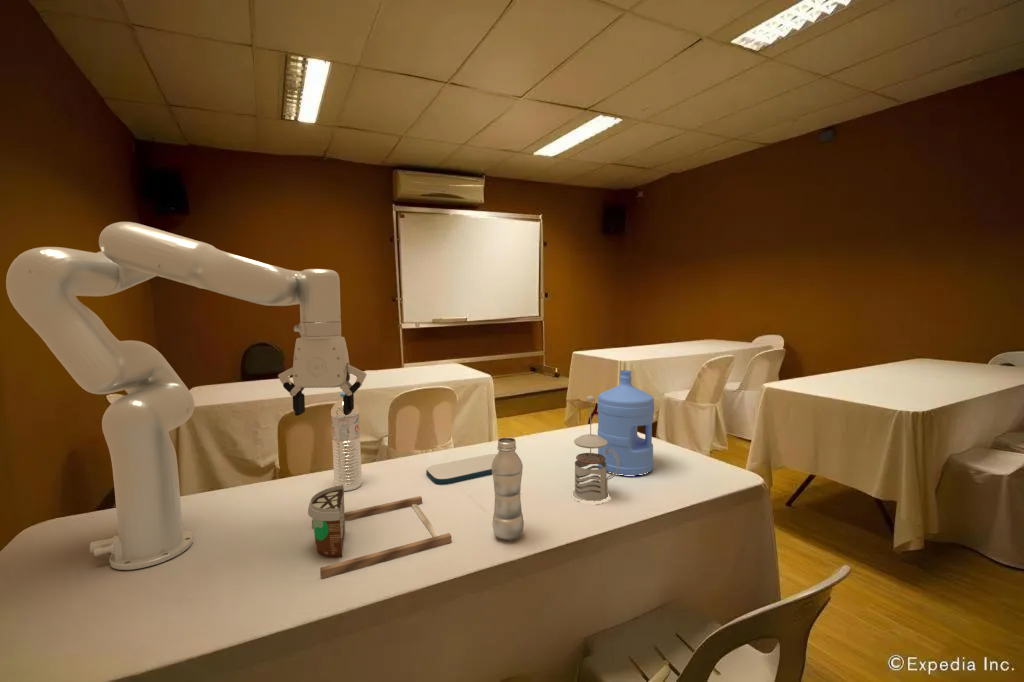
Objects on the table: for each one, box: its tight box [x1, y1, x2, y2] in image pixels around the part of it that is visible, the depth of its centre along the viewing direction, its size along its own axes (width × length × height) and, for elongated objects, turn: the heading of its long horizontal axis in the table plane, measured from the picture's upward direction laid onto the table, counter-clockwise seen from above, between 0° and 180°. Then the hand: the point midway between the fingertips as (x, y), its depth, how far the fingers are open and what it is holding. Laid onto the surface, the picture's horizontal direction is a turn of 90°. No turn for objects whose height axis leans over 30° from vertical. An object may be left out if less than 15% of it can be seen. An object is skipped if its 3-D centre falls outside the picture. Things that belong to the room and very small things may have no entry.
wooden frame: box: [311, 495, 452, 580], centre depth 92 cm, size 24×21×1 cm
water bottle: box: [330, 392, 363, 492], centre depth 115 cm, size 7×7×25 cm
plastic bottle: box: [491, 437, 525, 541], centre depth 89 cm, size 6×7×20 cm
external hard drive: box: [425, 453, 498, 486], centre depth 126 cm, size 24×12×2 cm, turn 120°
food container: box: [307, 485, 346, 559], centre depth 87 cm, size 12×6×10 cm, turn 17°
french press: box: [572, 395, 619, 502], centre depth 107 cm, size 10×12×25 cm
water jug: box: [597, 369, 655, 475], centre depth 126 cm, size 16×16×28 cm
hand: (324, 413), depth 91 cm, fingers open, 9 cm apart
